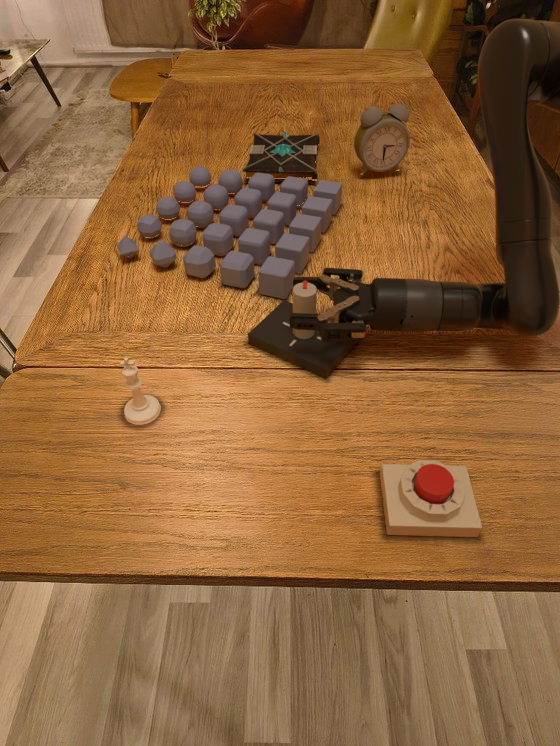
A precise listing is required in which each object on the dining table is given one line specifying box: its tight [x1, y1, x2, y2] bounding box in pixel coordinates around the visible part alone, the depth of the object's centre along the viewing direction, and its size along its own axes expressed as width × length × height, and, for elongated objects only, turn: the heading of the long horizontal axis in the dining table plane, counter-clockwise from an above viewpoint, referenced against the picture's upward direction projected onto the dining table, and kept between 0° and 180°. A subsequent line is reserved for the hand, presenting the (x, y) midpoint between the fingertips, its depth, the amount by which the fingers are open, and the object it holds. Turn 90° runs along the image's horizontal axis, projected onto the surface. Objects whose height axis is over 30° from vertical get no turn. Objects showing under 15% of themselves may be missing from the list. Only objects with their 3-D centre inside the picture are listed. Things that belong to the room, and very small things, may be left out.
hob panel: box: [247, 299, 358, 380], centre depth 79 cm, size 14×10×2 cm
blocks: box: [116, 165, 343, 300], centre depth 101 cm, size 35×34×5 cm
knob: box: [292, 281, 318, 339], centre depth 75 cm, size 3×3×8 cm
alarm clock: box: [353, 103, 411, 179], centre depth 115 cm, size 12×7×15 cm, turn 102°
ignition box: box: [379, 459, 483, 538], centre depth 59 cm, size 10×8×4 cm
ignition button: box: [414, 464, 454, 504], centre depth 57 cm, size 4×4×2 cm
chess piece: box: [119, 357, 162, 426], centre depth 67 cm, size 5×5×10 cm
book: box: [241, 131, 321, 186], centre depth 122 cm, size 22×17×5 cm
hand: (291, 301), depth 74 cm, fingers open, 8 cm apart
